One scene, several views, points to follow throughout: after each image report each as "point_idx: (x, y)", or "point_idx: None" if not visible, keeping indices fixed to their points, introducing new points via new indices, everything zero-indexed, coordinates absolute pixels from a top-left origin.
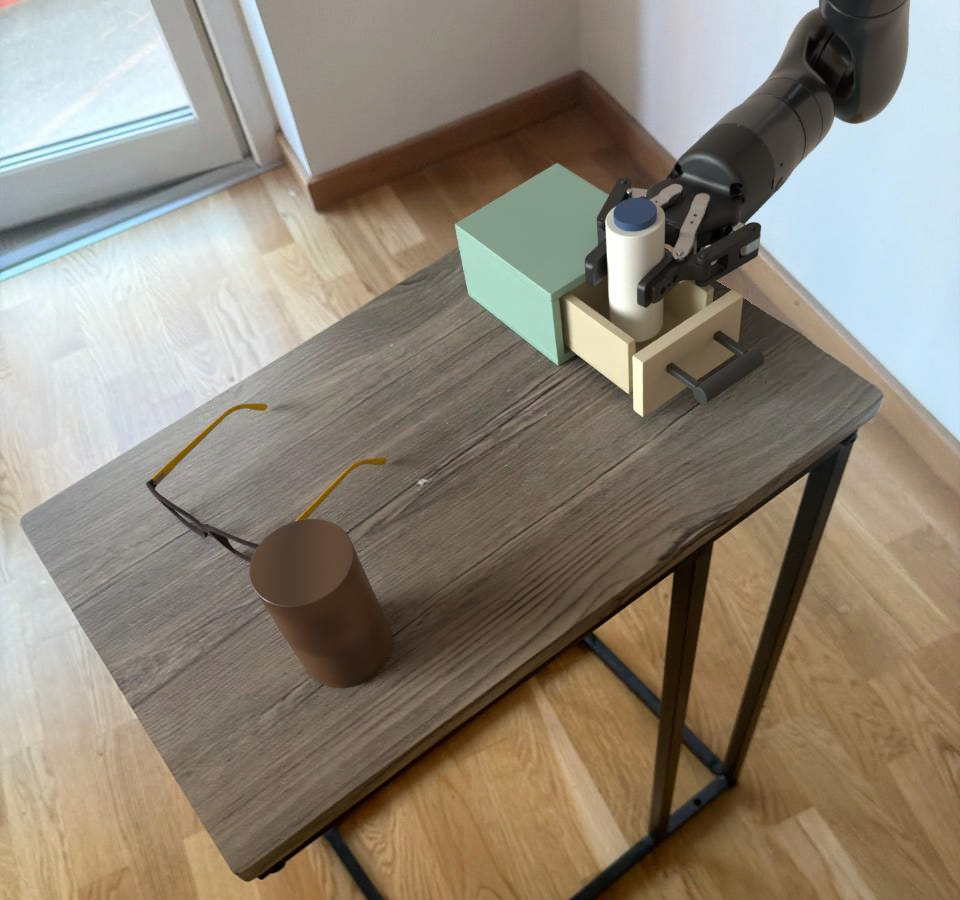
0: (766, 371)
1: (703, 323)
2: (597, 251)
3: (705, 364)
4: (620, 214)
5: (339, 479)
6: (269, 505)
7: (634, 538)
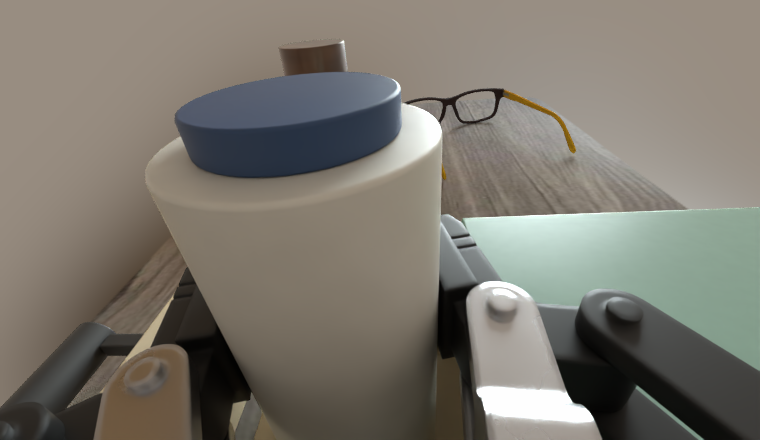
0: None
1: None
2: (440, 225)
3: None
4: (335, 78)
5: None
6: (463, 141)
7: (182, 258)
